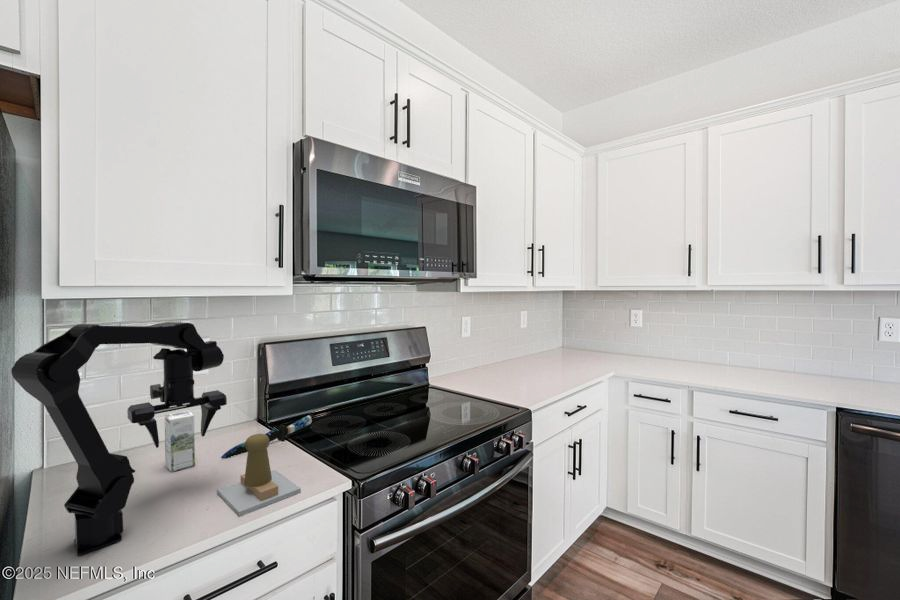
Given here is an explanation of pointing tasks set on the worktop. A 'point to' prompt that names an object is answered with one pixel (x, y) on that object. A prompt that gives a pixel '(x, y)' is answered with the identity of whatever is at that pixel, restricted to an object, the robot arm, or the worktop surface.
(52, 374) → the robot arm
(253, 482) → the olive pepper mill
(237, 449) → the knife
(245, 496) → the ridge board
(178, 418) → the syrup box
